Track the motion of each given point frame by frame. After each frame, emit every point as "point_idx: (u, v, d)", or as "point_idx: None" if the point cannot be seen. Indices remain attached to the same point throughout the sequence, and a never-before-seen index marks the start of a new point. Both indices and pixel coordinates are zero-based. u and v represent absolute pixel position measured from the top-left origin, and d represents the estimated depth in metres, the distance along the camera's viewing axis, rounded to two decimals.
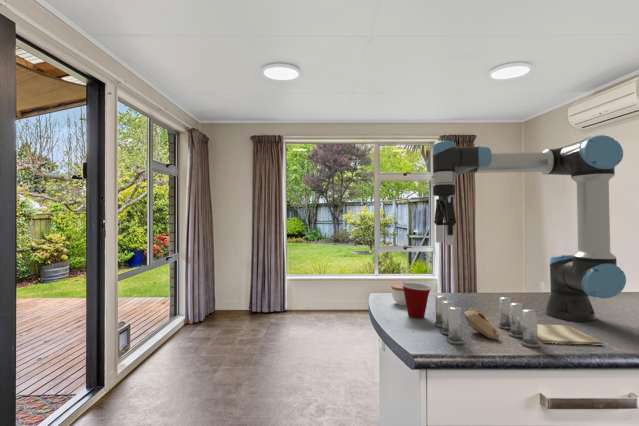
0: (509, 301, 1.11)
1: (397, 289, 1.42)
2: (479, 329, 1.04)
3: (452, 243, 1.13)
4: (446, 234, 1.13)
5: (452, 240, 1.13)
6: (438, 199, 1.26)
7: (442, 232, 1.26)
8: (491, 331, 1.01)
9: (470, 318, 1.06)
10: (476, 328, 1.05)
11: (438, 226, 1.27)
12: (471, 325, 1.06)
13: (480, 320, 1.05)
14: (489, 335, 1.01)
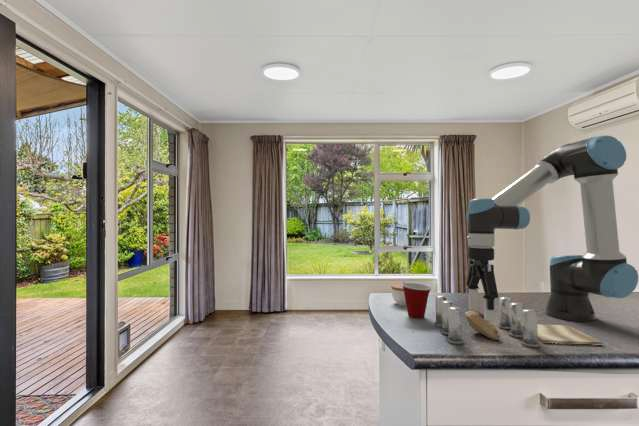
0: (509, 301, 1.11)
1: (397, 289, 1.42)
2: (480, 329, 1.04)
3: (492, 319, 0.99)
4: (485, 308, 0.99)
5: (492, 315, 0.99)
6: (472, 260, 1.12)
7: (476, 297, 1.12)
8: (492, 331, 1.01)
9: (471, 318, 1.05)
10: (477, 328, 1.05)
11: (472, 290, 1.13)
12: (472, 325, 1.06)
13: (481, 320, 1.04)
14: (490, 335, 1.01)
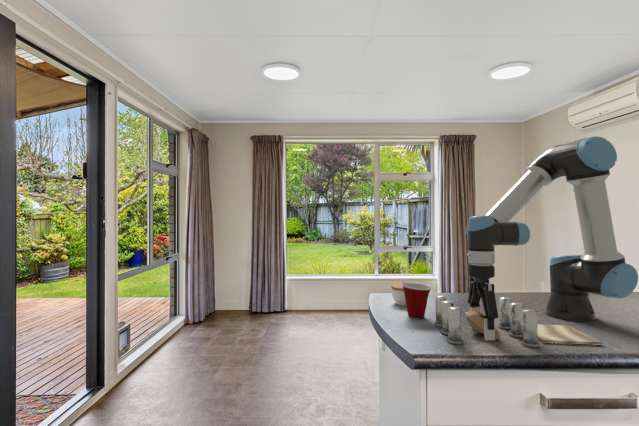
0: (509, 301, 1.11)
1: (397, 289, 1.42)
2: (480, 329, 1.03)
3: (493, 338, 0.99)
4: (486, 328, 1.00)
5: (493, 335, 0.99)
6: (473, 277, 1.12)
7: None
8: None
9: (471, 318, 1.05)
10: (477, 328, 1.05)
11: (473, 309, 1.12)
12: (472, 325, 1.06)
13: (481, 320, 1.04)
14: None
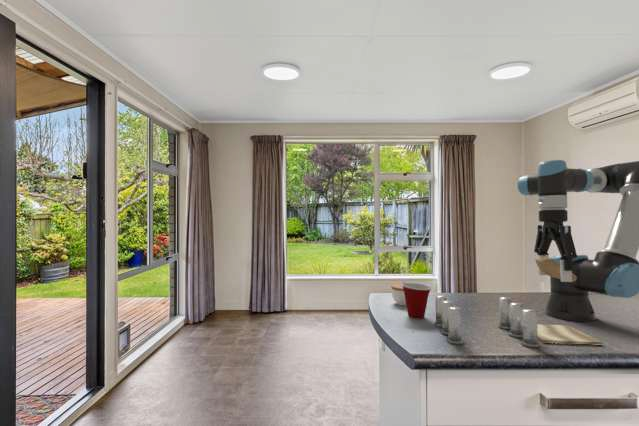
0: (509, 301, 1.11)
1: (397, 289, 1.42)
2: (554, 273, 1.04)
3: (570, 280, 0.99)
4: (562, 269, 1.00)
5: (569, 276, 0.99)
6: (541, 225, 1.12)
7: None
8: None
9: (544, 263, 1.05)
10: (550, 272, 1.05)
11: None
12: (544, 270, 1.06)
13: (555, 264, 1.04)
14: None
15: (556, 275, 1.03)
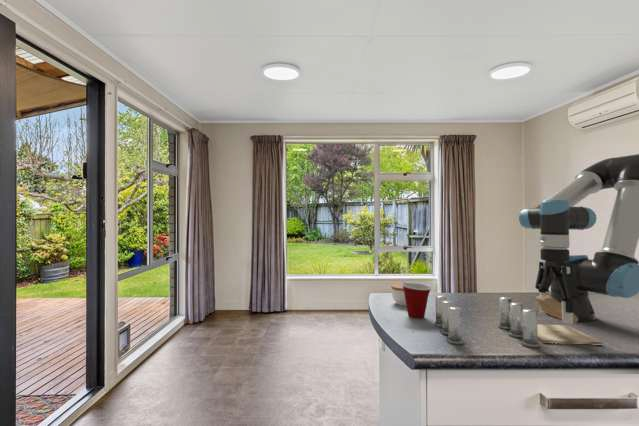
0: (509, 301, 1.11)
1: (397, 289, 1.42)
2: (555, 313, 1.03)
3: (571, 321, 0.99)
4: (564, 311, 0.99)
5: (571, 318, 0.99)
6: (542, 262, 1.12)
7: None
8: None
9: (545, 302, 1.05)
10: (552, 312, 1.04)
11: None
12: (545, 309, 1.05)
13: (556, 304, 1.04)
14: None
15: (557, 315, 1.03)
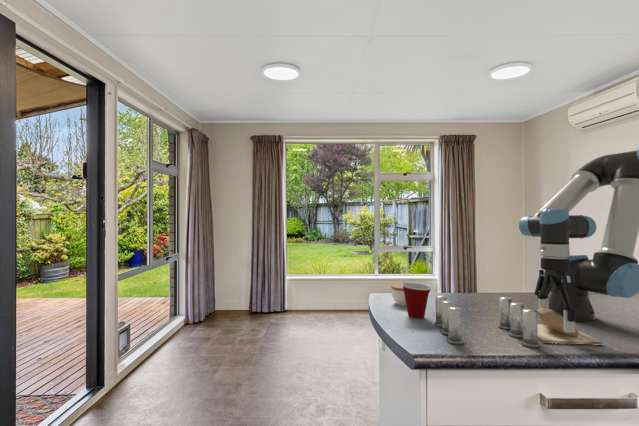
0: (509, 301, 1.11)
1: (397, 289, 1.42)
2: (556, 327, 1.03)
3: (573, 330, 0.98)
4: (566, 320, 0.99)
5: (573, 327, 0.98)
6: (542, 270, 1.12)
7: (547, 307, 1.12)
8: None
9: (546, 316, 1.05)
10: (552, 326, 1.04)
11: (542, 300, 1.12)
12: (546, 323, 1.06)
13: (557, 318, 1.04)
14: (569, 332, 1.00)
15: (558, 329, 1.03)
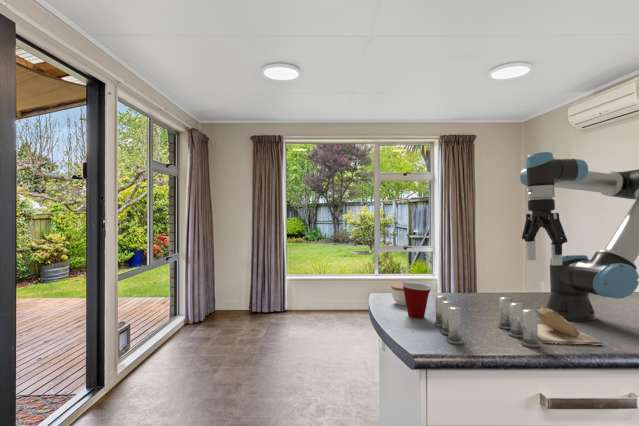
0: (509, 301, 1.11)
1: (397, 289, 1.42)
2: (557, 327, 1.03)
3: (560, 263, 1.05)
4: (553, 254, 1.05)
5: (560, 260, 1.05)
6: (529, 214, 1.18)
7: (534, 249, 1.18)
8: (571, 329, 1.00)
9: (546, 316, 1.05)
10: (553, 326, 1.04)
11: (529, 243, 1.18)
12: (547, 323, 1.05)
13: (557, 318, 1.04)
14: (569, 333, 1.00)
15: (558, 329, 1.03)
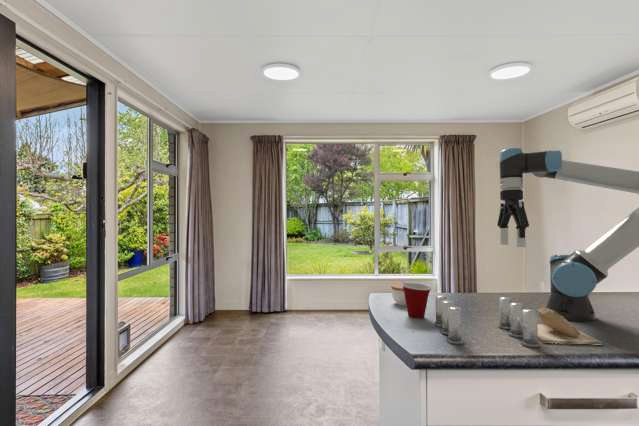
0: (509, 301, 1.11)
1: (397, 289, 1.42)
2: (557, 327, 1.03)
3: (524, 245, 1.19)
4: (518, 237, 1.20)
5: (524, 242, 1.19)
6: (503, 203, 1.33)
7: (507, 235, 1.33)
8: (571, 329, 1.00)
9: (547, 316, 1.04)
10: (553, 326, 1.04)
11: (503, 229, 1.33)
12: (547, 323, 1.05)
13: (557, 318, 1.04)
14: (570, 333, 1.00)
15: (559, 329, 1.03)
